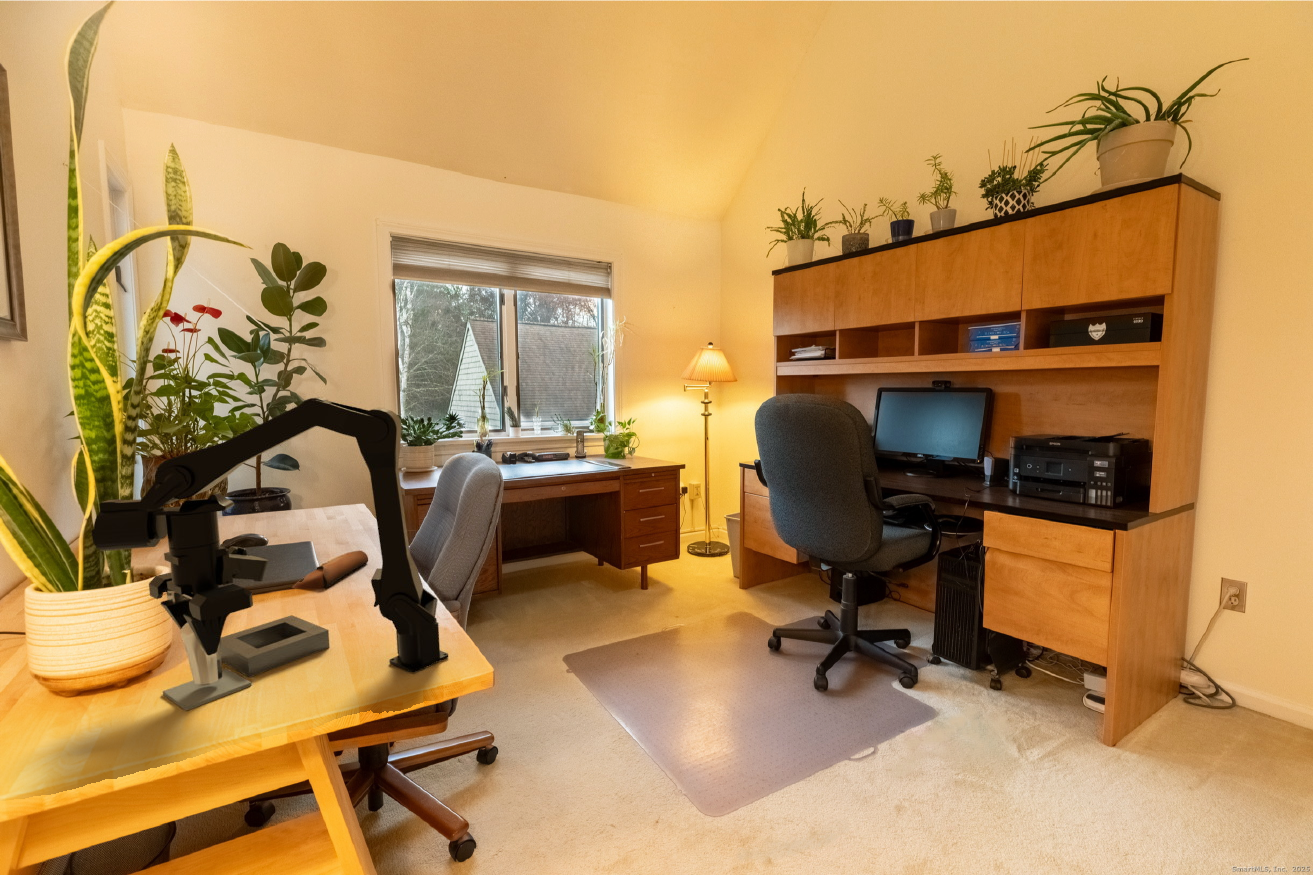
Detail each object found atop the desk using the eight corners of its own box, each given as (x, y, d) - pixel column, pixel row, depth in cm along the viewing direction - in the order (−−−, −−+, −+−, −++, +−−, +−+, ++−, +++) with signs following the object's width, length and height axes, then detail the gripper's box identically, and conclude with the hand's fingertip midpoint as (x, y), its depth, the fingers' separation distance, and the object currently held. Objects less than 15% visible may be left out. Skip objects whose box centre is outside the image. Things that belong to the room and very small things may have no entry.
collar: (329, 647, 101) (328, 629, 101) (249, 677, 91) (247, 658, 91) (293, 631, 108) (291, 615, 108) (214, 657, 98) (213, 639, 98)
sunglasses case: (333, 563, 148) (346, 540, 147) (359, 577, 148) (372, 554, 148) (288, 589, 130) (302, 562, 129) (318, 605, 130) (332, 579, 130)
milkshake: (212, 688, 85) (202, 618, 84) (180, 688, 86) (169, 619, 85) (240, 673, 89) (230, 606, 88) (209, 673, 90) (199, 607, 89)
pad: (251, 685, 89) (251, 682, 89) (185, 710, 82) (185, 707, 82) (227, 671, 93) (226, 668, 93) (163, 694, 87) (162, 690, 87)
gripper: (288, 538, 87) (296, 644, 89) (230, 523, 98) (238, 618, 99) (196, 559, 78) (207, 676, 80) (142, 539, 88) (153, 643, 90)
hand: (205, 650), depth 87 cm, fingers closed on milkshake, 4 cm apart
